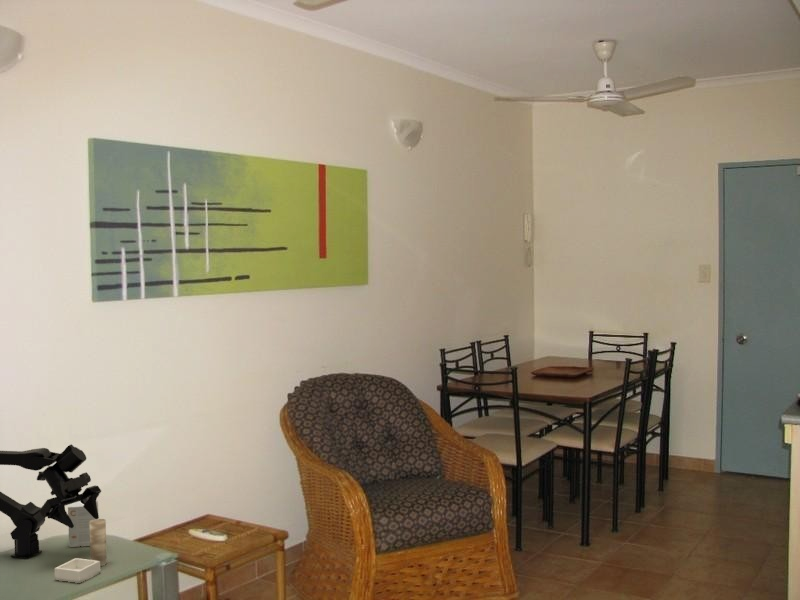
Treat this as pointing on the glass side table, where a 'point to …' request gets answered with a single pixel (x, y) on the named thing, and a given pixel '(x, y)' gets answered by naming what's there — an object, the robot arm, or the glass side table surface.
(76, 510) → the small box
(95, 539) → the tan rounded rod
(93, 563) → the white square tray
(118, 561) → the glass side table surface
